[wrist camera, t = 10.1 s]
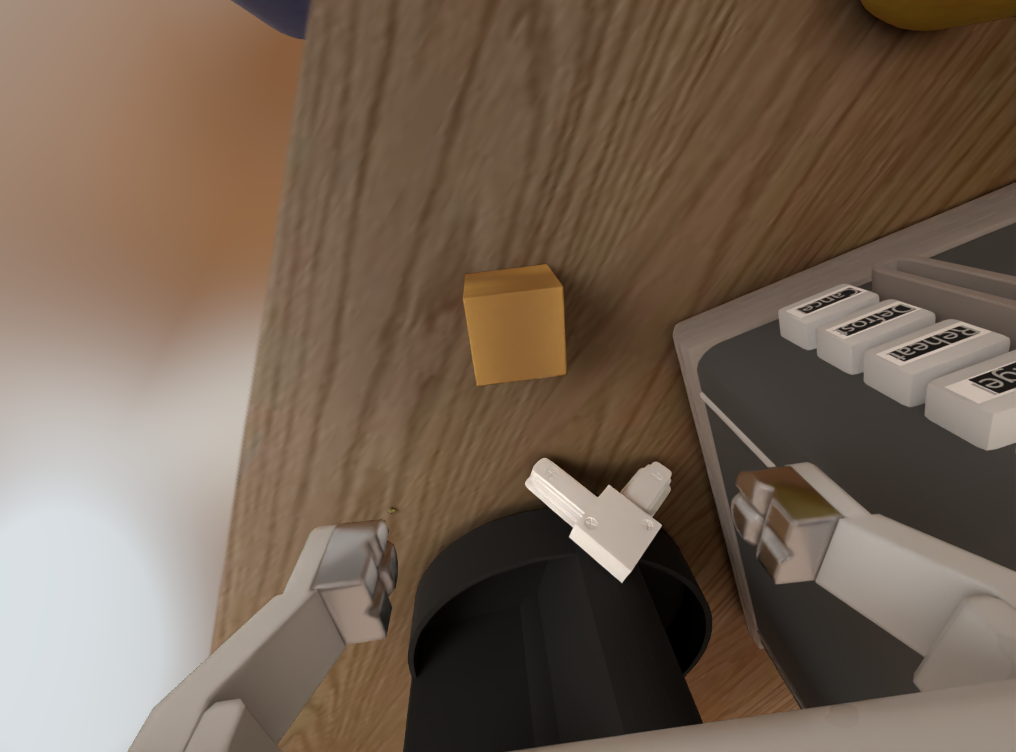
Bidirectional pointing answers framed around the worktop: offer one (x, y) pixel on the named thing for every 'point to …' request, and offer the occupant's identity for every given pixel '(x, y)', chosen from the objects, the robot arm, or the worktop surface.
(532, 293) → the block
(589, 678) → the container
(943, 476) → the toaster
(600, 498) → the corner connector
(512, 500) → the worktop surface
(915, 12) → the mug
